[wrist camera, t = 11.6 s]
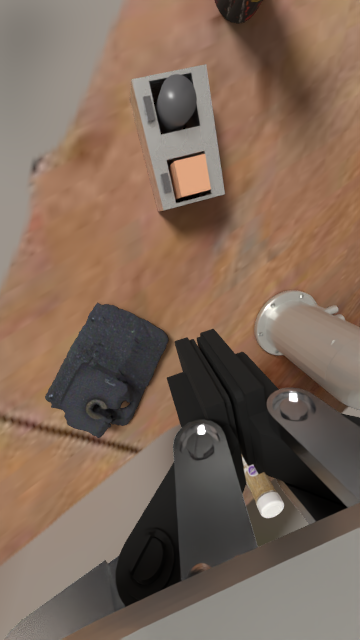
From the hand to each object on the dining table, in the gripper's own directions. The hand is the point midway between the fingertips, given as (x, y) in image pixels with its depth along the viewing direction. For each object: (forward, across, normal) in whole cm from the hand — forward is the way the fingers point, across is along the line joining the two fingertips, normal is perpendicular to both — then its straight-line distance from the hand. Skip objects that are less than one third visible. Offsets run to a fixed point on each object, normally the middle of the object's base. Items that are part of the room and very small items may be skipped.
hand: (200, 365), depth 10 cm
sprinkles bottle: (+29, -9, +46) cm, 55 cm away
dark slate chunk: (+30, +10, +16) cm, 35 cm away
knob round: (+28, -8, -16) cm, 33 cm away
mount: (+29, -8, -12) cm, 32 cm away
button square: (+28, -8, -8) cm, 30 cm away
